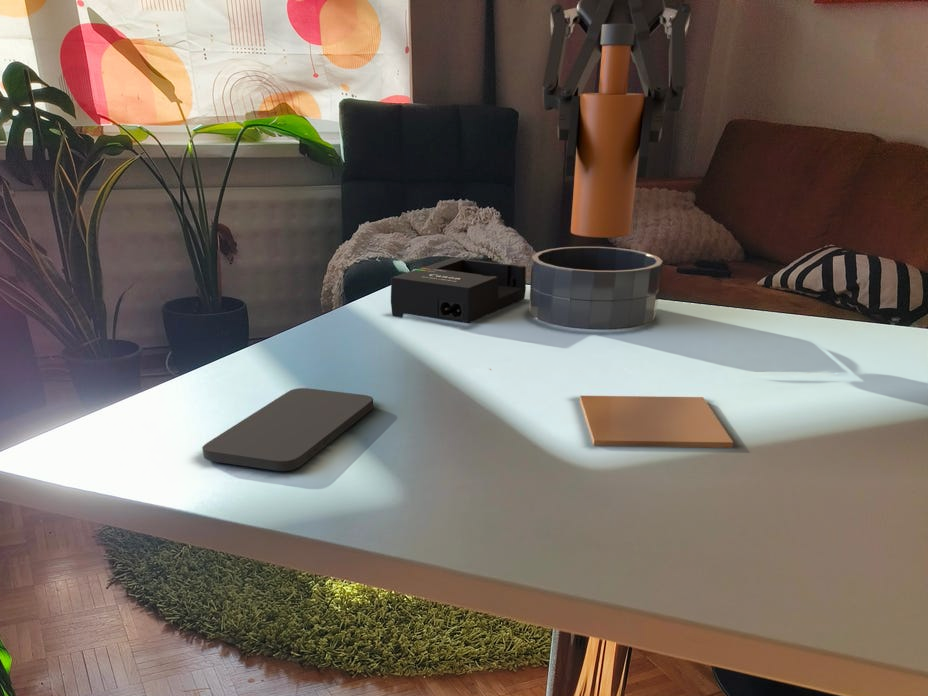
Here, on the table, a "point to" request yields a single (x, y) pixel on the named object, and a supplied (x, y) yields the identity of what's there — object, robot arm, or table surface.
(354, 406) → the phone
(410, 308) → the battery charger
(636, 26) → the robot arm
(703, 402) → the cork mat
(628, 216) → the bottle
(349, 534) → the table surface
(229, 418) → the table surface
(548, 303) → the pot
